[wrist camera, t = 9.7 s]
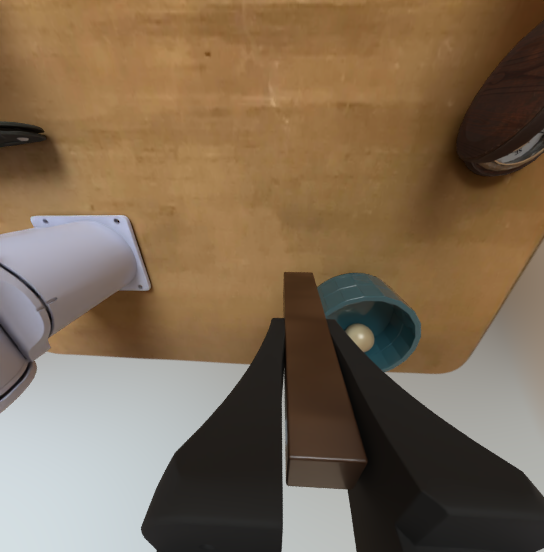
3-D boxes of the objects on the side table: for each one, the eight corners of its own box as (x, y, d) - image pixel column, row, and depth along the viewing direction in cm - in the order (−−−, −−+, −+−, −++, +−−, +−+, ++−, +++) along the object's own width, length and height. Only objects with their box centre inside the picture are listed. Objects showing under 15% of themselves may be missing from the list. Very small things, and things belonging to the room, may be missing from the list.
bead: (335, 339, 23) (348, 357, 20) (343, 316, 22) (358, 330, 19) (358, 343, 23) (374, 360, 20) (367, 320, 22) (385, 334, 20)
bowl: (301, 343, 25) (305, 375, 21) (306, 272, 20) (313, 295, 16) (382, 345, 24) (402, 379, 20) (406, 273, 20) (438, 297, 16)
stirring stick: (283, 295, 15) (286, 486, 6) (283, 271, 14) (288, 459, 5) (310, 295, 14) (353, 490, 6) (312, 272, 14) (369, 463, 5)
